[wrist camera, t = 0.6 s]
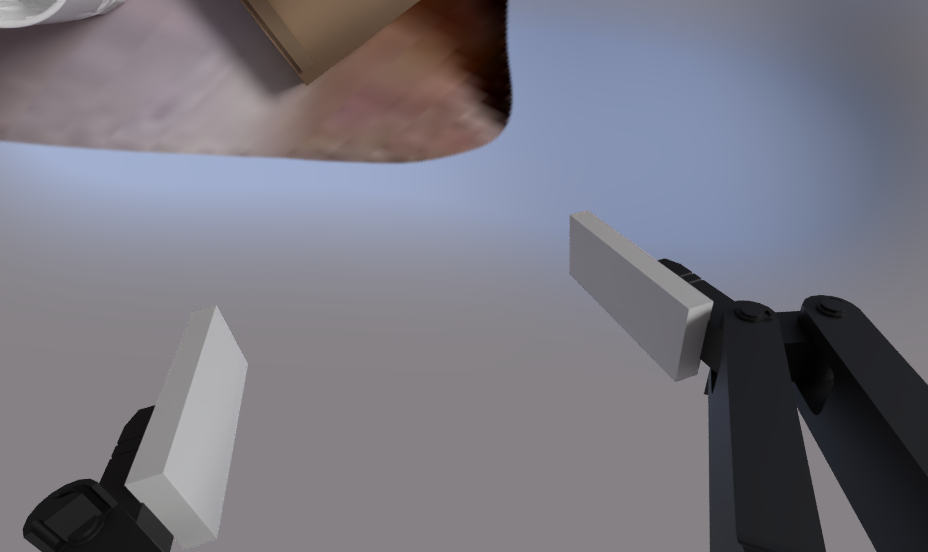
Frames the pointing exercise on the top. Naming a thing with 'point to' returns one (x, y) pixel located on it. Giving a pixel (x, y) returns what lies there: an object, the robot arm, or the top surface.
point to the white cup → (50, 11)
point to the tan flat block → (322, 28)
